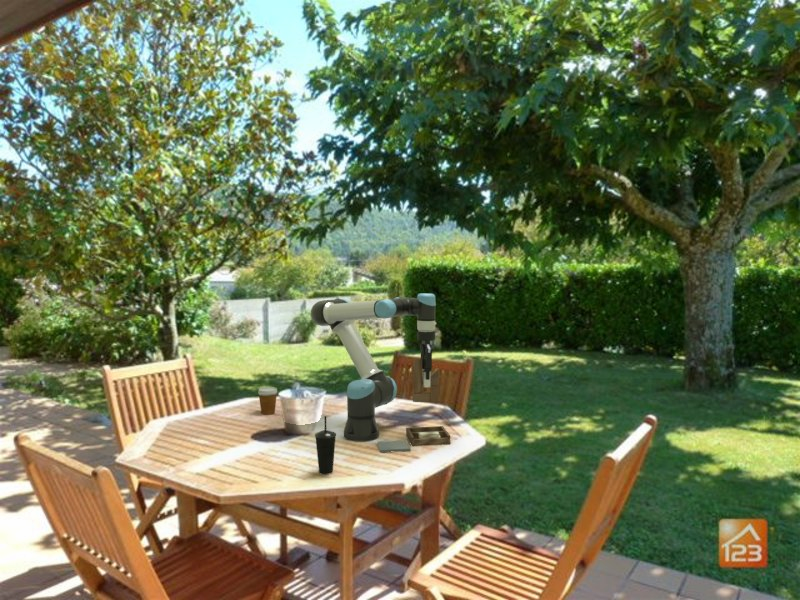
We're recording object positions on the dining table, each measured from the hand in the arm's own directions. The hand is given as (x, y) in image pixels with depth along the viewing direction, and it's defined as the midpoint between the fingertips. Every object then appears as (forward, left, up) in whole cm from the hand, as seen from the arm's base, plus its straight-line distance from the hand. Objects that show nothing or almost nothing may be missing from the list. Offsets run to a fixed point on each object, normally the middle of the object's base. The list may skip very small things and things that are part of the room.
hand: (425, 385), depth 245 cm
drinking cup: (-43, -34, -22) cm, 59 cm away
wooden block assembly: (0, 0, -7) cm, 7 cm away
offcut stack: (0, -7, -23) cm, 23 cm away
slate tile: (-15, -11, -22) cm, 29 cm away
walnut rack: (0, -3, -22) cm, 22 cm away
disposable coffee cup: (-69, +50, -23) cm, 88 cm away
